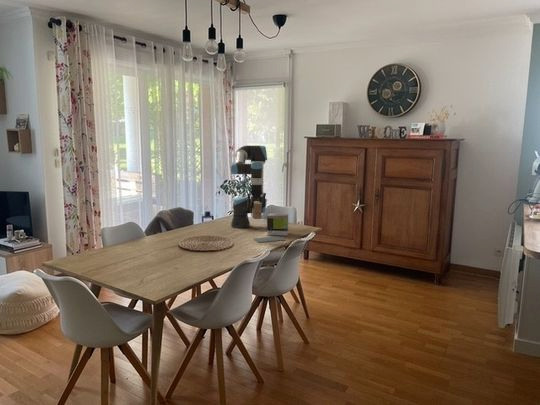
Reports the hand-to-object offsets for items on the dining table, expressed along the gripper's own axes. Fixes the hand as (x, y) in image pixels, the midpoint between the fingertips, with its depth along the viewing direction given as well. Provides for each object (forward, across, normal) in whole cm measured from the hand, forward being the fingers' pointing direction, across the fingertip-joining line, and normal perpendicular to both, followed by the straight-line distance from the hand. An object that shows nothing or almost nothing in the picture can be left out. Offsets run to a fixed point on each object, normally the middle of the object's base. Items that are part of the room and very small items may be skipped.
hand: (256, 217), depth 275 cm
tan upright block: (0, 0, 0) cm, 0 cm away
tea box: (+15, +20, +10) cm, 27 cm away
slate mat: (+16, +8, -5) cm, 18 cm away
